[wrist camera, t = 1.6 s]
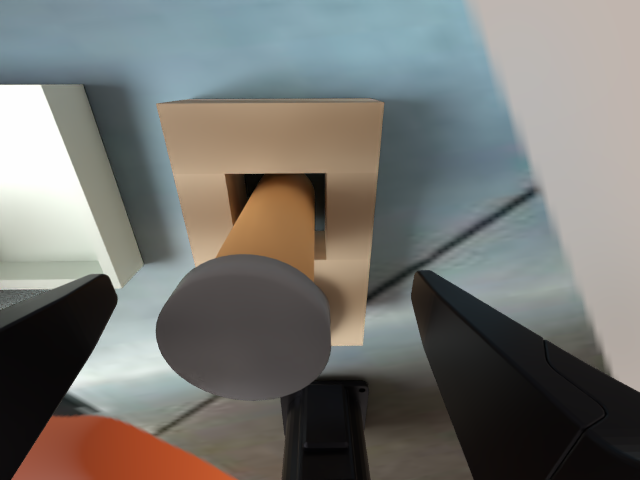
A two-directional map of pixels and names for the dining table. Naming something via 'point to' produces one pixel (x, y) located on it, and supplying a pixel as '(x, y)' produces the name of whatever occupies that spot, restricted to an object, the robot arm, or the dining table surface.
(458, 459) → the dining table surface
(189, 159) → the block
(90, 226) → the tray
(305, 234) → the pin
